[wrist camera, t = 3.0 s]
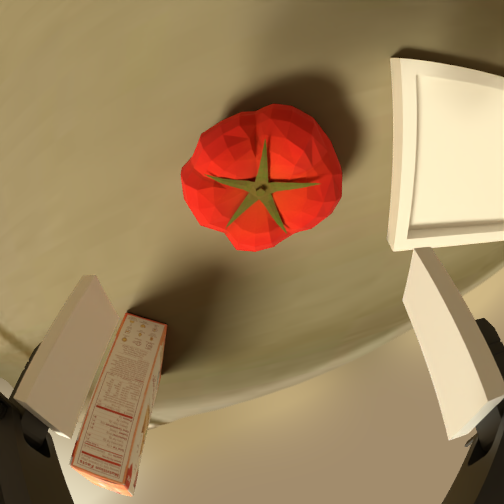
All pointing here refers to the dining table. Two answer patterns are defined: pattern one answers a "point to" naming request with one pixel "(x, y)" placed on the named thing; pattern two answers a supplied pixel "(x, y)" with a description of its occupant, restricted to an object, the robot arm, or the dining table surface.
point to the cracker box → (121, 407)
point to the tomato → (262, 176)
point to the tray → (446, 156)
